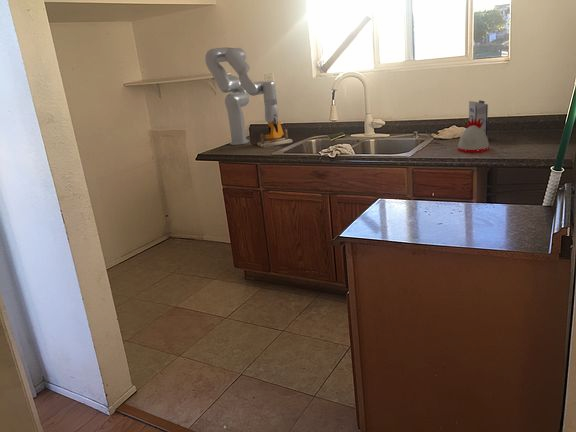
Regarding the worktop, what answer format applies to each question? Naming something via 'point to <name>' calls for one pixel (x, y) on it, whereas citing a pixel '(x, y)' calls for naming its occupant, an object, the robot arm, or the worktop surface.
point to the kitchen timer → (473, 138)
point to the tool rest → (274, 142)
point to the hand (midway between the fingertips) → (273, 132)
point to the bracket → (274, 131)
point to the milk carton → (479, 113)
